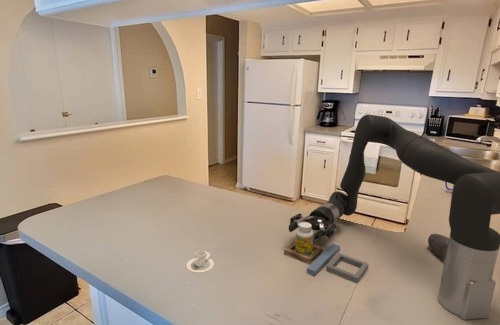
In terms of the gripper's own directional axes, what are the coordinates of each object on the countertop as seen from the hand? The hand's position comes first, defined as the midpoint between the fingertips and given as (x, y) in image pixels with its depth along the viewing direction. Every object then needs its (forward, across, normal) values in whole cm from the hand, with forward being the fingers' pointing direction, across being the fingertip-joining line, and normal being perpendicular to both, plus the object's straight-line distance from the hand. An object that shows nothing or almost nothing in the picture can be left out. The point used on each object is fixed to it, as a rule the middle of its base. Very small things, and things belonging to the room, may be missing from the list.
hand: (302, 233), depth 92 cm
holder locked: (-2, 0, +8) cm, 8 cm away
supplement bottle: (-2, 0, +8) cm, 8 cm away
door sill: (-2, +7, +8) cm, 11 cm away
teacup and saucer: (+21, -18, +8) cm, 29 cm away
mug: (-102, +33, +8) cm, 107 cm away
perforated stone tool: (-27, +35, +8) cm, 45 cm away
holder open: (-2, +14, +8) cm, 16 cm away
